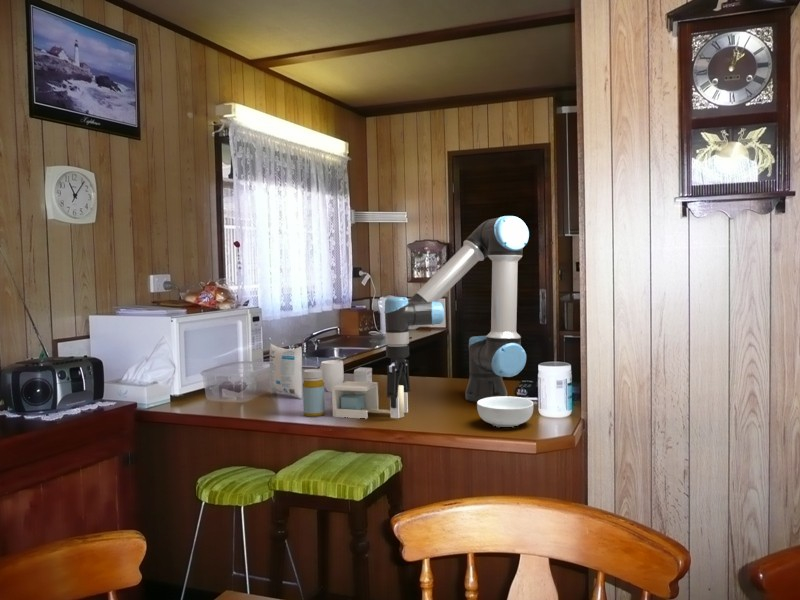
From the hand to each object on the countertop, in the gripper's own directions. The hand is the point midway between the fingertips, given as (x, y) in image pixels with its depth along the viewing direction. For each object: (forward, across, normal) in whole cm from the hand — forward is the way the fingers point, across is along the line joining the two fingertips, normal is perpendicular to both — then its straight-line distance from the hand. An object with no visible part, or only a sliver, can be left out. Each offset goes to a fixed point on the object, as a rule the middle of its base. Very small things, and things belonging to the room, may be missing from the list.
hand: (399, 414), depth 207 cm
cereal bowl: (+1, +2, +35) cm, 35 cm away
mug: (+1, -36, -43) cm, 56 cm away
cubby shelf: (+1, 0, -15) cm, 15 cm away
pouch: (+1, -22, -55) cm, 59 cm away
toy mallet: (+1, 0, -9) cm, 9 cm away
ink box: (+1, -21, -22) cm, 30 cm away
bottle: (+1, +4, -29) cm, 29 cm away
